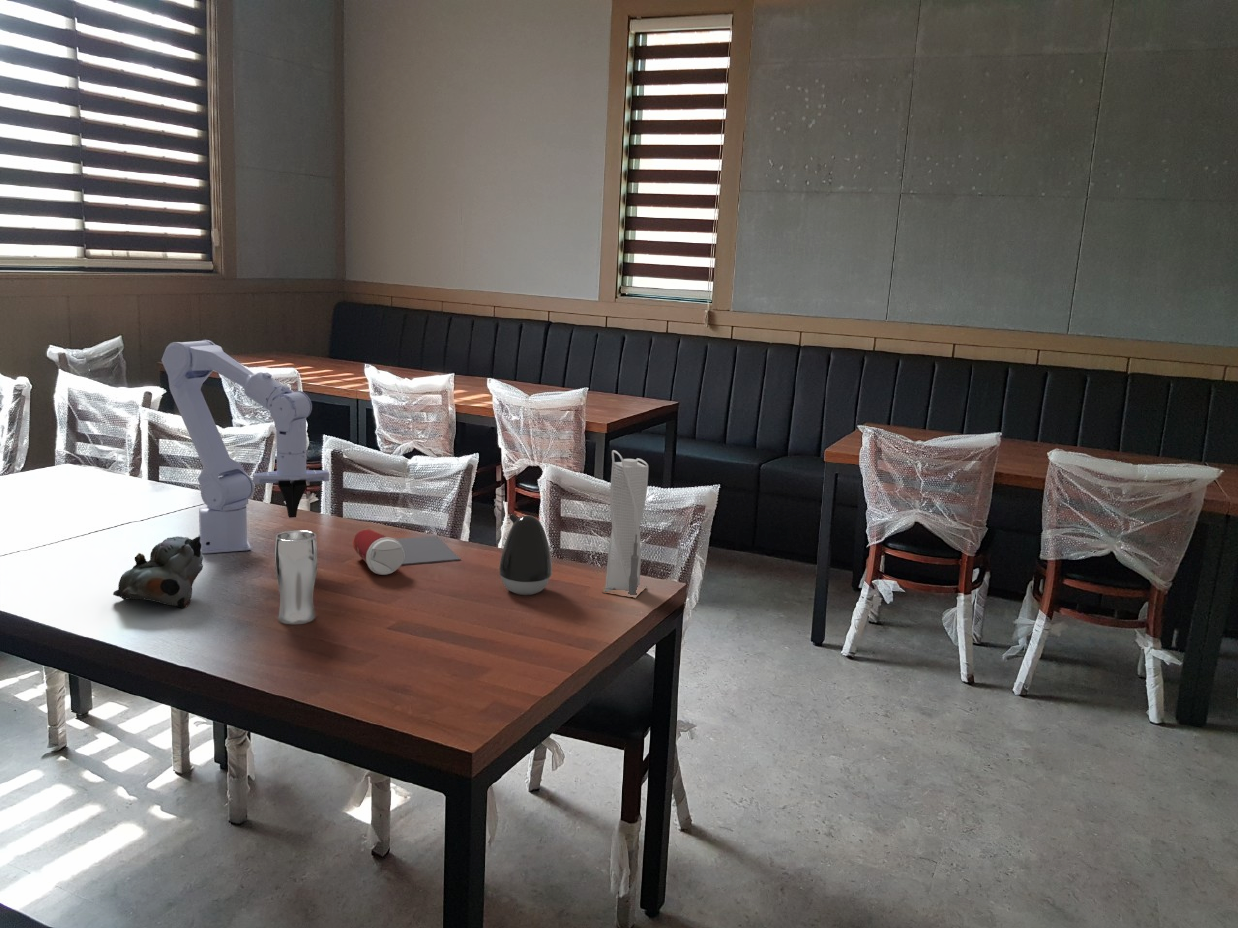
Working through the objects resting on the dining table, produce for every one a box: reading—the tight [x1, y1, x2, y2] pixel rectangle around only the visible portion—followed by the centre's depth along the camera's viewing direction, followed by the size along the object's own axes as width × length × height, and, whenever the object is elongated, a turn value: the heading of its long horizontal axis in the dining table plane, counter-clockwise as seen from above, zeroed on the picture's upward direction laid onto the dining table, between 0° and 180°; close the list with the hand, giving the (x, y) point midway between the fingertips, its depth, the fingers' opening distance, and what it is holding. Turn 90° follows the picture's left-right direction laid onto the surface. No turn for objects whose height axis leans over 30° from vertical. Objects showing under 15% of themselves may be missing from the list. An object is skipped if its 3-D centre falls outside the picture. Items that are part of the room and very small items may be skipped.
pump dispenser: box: [498, 513, 553, 596], centre depth 183 cm, size 10×10×15 cm
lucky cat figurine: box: [112, 536, 204, 609], centre depth 167 cm, size 15×12×14 cm
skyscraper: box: [601, 449, 649, 595], centre depth 186 cm, size 8×8×28 cm
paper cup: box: [352, 528, 405, 576], centre depth 193 cm, size 8×8×14 cm
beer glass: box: [274, 529, 319, 626], centre depth 162 cm, size 7×7×15 cm
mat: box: [395, 535, 462, 566], centre depth 205 cm, size 18×18×1 cm
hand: (292, 516), depth 194 cm, fingers closed
